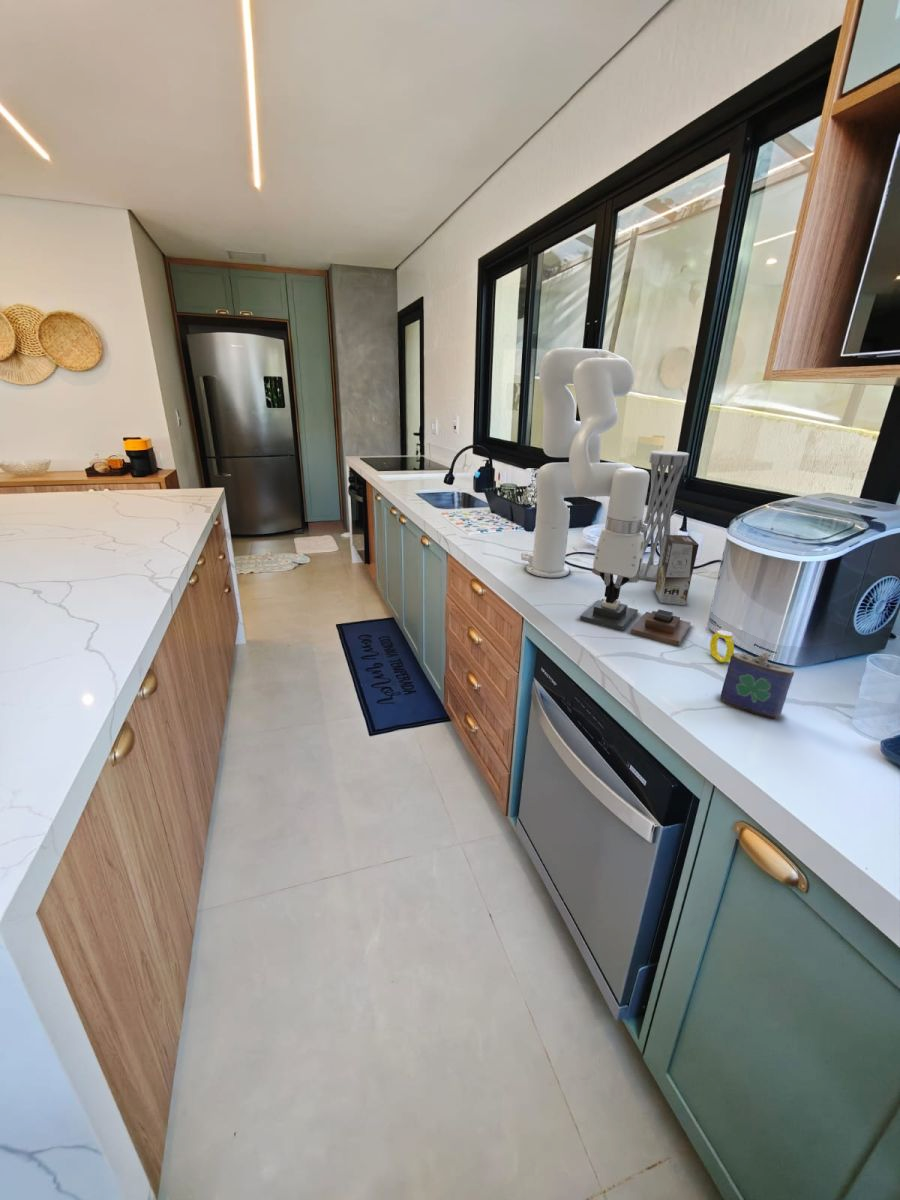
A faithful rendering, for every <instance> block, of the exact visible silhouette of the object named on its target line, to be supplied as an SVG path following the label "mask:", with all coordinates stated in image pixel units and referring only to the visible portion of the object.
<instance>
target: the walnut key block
mask: <svg viewBox="0 0 900 1200" xmlns="http://www.w3.org/2000/svg"><path fill="white" fill-rule="evenodd" d="M656 612H657V611H656V610H652V611H651V612H649V611H646V612H644V614H643V615H642V616H641V617H640V619H639V620H638V621H637V622H636V624H635V625H634V626H633V627H632V628H631V633H630V634H631V635H635V636H637V637H641V638H645V639H650V640H653V641H657V642H661V643H664V644H668V645H672V646H675V647H679V646H680V644H681V643H682V641H683V639H684V637H686V634H687V632H688V630H689V629H690V627H691V623H692V622H691V621H688V620H683V619H681V617H680V616H676V615H673V617H672V620H671V622H670V623H667V622H662V621H658V620H654V618H655V613H656Z"/></svg>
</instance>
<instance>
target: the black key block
mask: <svg viewBox="0 0 900 1200" xmlns="http://www.w3.org/2000/svg"><path fill="white" fill-rule="evenodd" d="M605 599H606V598H602V599H601V600H599V599H597V600H596V601H595V602H594V603H593V604H592V605H591V606H589V608H587V609H586V611H584V612H582V614H580V617H579V621H582V622H585V623H590V624H593V625H596V626H601V627H605V628H608V629H613V630H615V631H619V632H623V631H624V630H625V629H626V628H627V626H628V625H629V624H630V623H631V622H632V620H634V618H635V617H636V616H637V615H638V611H639V609H637V608H632V607H628V604H626V603H622V602H620V605H619V608H618V609H617V610H614V609H610V608H605V607H602V603H603V601H604V600H605Z"/></svg>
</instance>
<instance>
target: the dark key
mask: <svg viewBox="0 0 900 1200" xmlns="http://www.w3.org/2000/svg"><path fill="white" fill-rule="evenodd" d="M673 616H674V612H673V611H669V610H665V609H661V608H659V609H657V611H656V613H655V618H654V620H658V621H662V622H667V623H670V622H671V620H672V617H673Z"/></svg>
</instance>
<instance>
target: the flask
mask: <svg viewBox="0 0 900 1200" xmlns="http://www.w3.org/2000/svg"><path fill="white" fill-rule="evenodd" d="M770 656H771V654H770V653H768V652H766V651H765V652H760V654H759V656H755V657H754V656H752V655H750V654H749V655H747V652H744V653H740V652H734V654H732V656H731V659H730V661H729V662H728V666H727V670H726V674H725V677H724V681H723V685H722V690H721V692H720V698H719V700H720V701H721V702H722V703H724V704H726V705H728V706H730V707H734V708H736V709H738V710H742V711H745V712H749V713H751V714H753V715H758V716H761V717H765V718H768V719H775V720H778V719H779V718H780V717H781V715H782V712H783V709H784V705H785V703H786V700H787V695H788V693H789V689H790V686H791V683H792V679H793V677H794V674H795V671H794V670H793V669H792V668H791V667H790V666H789V667H788V666H785V665H781V664H776V663H772V662H769V661H768V660H769V658H770Z"/></svg>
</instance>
